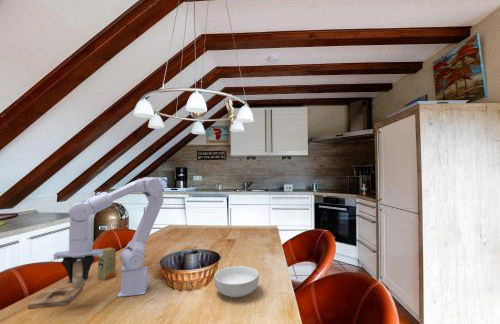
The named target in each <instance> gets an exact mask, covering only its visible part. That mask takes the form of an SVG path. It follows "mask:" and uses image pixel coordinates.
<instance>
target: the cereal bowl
mask: <svg viewBox="0 0 500 324" xmlns="http://www.w3.org/2000/svg"><path fill="white" fill-rule="evenodd" d="M259 274H260V273H259V271H258V270H257V269H256V268H253V267H251V266H245V265H233V266H226V267H222V268H221V269H218V270H217V271H216V272H215V273H214V276H213V280H214V286H215V288H216V290H217V291H218V292H219V293H220V294H222V295H224V296H227V297H229V298H233V299H234V298H235V299H236V298H242V297H245V296H247V295H249V294H251V293H252V292H253V291H256V288H257V287H258V285H259V279H260V275H259Z"/></svg>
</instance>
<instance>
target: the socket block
mask: <svg viewBox="0 0 500 324" xmlns="http://www.w3.org/2000/svg"><path fill="white" fill-rule="evenodd" d="M83 290H84V286H83V287H81V288H77V289H73V288H72V286H64V287H54V288H47V289H46V290H45V291H43V292H42V293H41V294H40V295H38V296H37V297H36V298H34V299H33V300H32V301H31V302H29V303H28V304H27V309H28V310H32V309H43V308H51V307H52V308H53V307H61V306H68V305H70V304H71V303H72V302H73V301H74V300H75V298H76V297H78V296H79V295H80V294H81V293H82V291H83Z"/></svg>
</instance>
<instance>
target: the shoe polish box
mask: <svg viewBox="0 0 500 324" xmlns="http://www.w3.org/2000/svg"><path fill="white" fill-rule="evenodd" d="M102 249H103V255H102V256H97V279H98V280H102V281H104V282H105V281H107V280H110V279H113V278H115V277H116V272H117V271H116V270H117V268H116V264H117V263H116V262H117V261H116V260H117V258H116V257H117V255H116V253H117V249H116V248H115V247H110V246H108V247H105V248H102Z"/></svg>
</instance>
